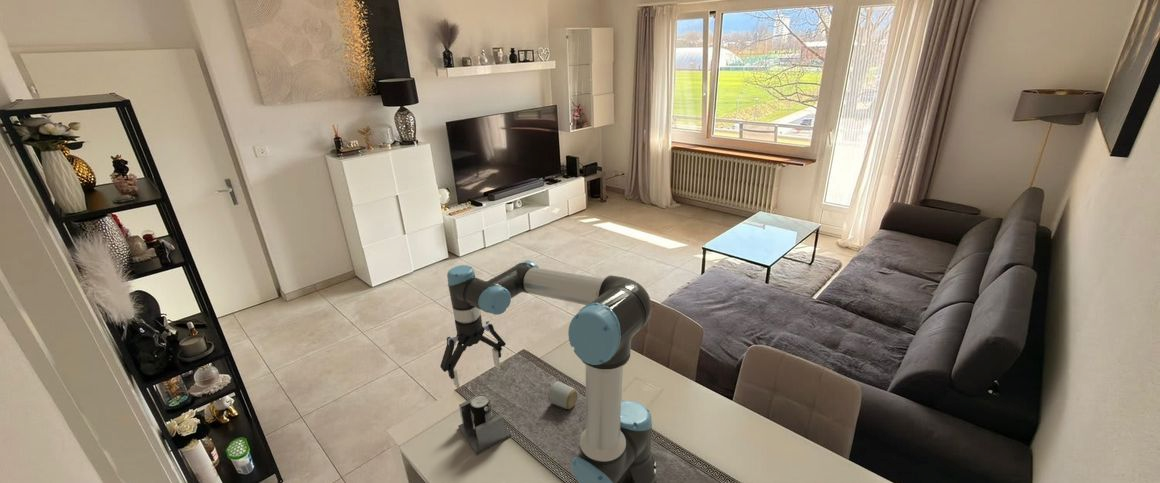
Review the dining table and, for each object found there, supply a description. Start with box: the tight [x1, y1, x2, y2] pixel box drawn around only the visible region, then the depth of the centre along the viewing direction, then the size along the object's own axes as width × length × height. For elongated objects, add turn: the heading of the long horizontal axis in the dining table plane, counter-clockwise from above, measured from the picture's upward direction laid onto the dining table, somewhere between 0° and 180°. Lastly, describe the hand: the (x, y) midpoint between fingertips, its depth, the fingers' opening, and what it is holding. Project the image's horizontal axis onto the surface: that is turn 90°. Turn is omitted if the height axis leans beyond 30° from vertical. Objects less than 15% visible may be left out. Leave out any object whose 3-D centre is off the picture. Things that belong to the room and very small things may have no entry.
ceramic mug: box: [547, 380, 579, 410], centre depth 166 cm, size 11×8×8 cm
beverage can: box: [470, 393, 493, 433], centre depth 153 cm, size 7×7×12 cm
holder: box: [457, 392, 512, 456], centre depth 154 cm, size 14×12×9 cm
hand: (477, 375), depth 147 cm, fingers open, 13 cm apart
